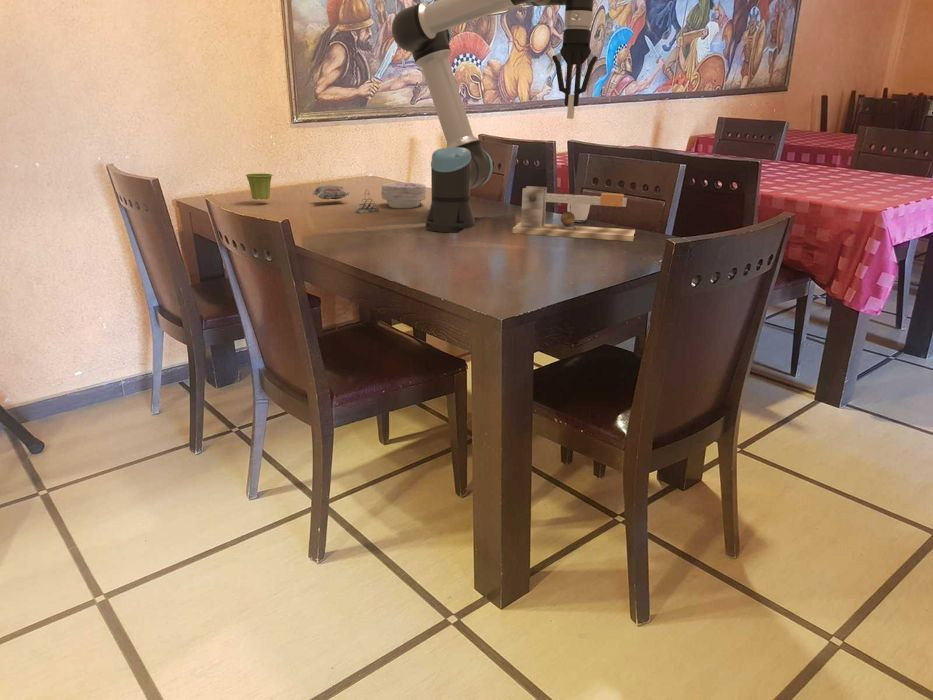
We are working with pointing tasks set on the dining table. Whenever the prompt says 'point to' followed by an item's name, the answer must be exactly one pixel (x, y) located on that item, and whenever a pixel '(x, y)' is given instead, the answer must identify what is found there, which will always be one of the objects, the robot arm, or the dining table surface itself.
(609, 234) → the press base
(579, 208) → the cup
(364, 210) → the house of cards
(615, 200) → the lever
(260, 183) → the plant pot
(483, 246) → the dining table surface
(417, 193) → the paper bowls
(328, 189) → the packaged food
